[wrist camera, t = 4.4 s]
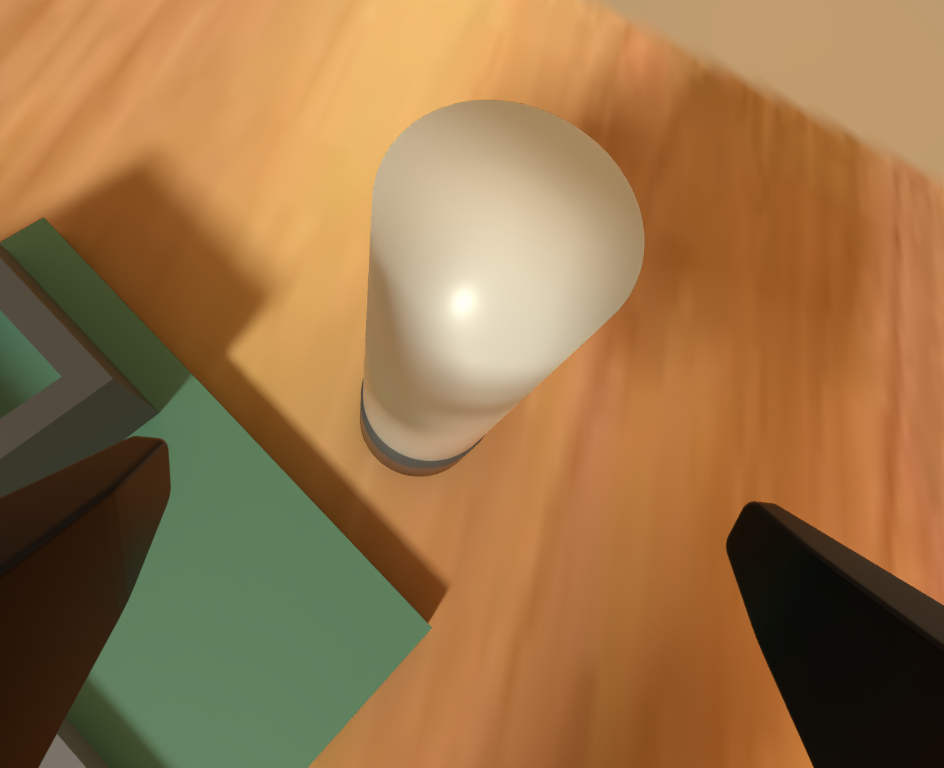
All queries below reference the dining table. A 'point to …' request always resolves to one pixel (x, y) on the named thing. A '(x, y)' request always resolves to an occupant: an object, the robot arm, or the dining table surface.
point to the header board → (188, 545)
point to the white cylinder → (485, 272)
